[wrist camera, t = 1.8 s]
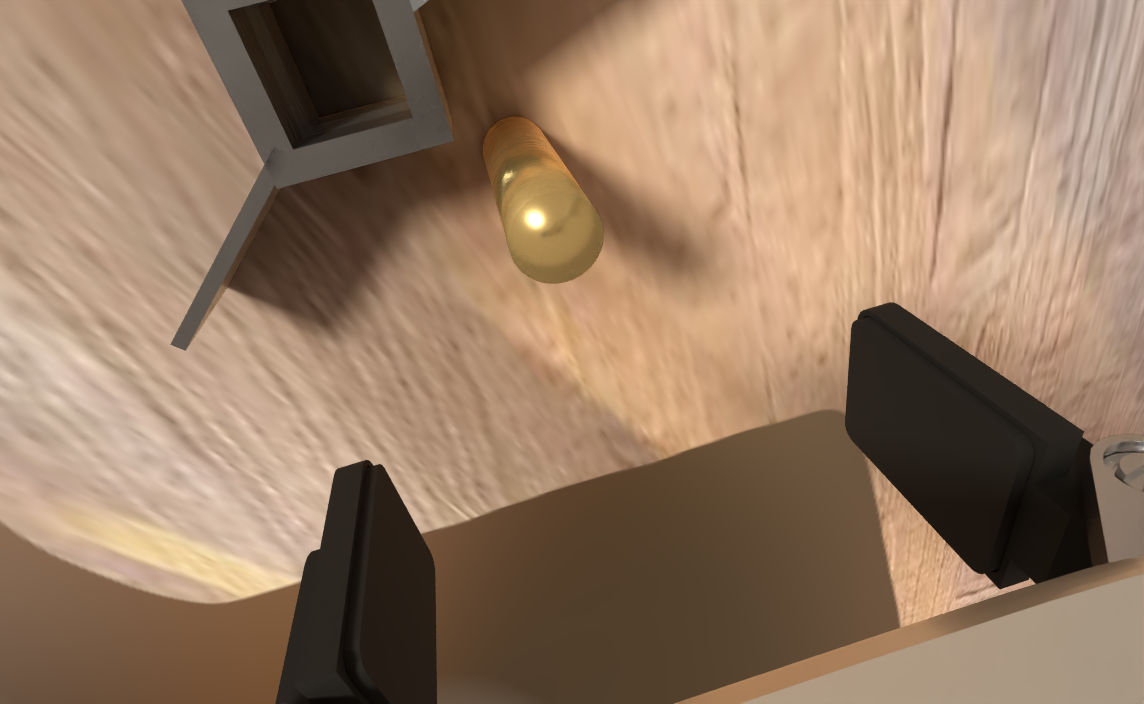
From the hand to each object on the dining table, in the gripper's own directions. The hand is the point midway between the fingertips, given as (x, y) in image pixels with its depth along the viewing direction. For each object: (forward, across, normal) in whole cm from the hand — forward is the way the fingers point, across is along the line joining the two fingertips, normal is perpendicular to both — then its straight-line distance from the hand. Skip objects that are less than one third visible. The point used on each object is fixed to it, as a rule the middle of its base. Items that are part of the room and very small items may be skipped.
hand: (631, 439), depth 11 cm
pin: (+22, 0, 0) cm, 22 cm away
